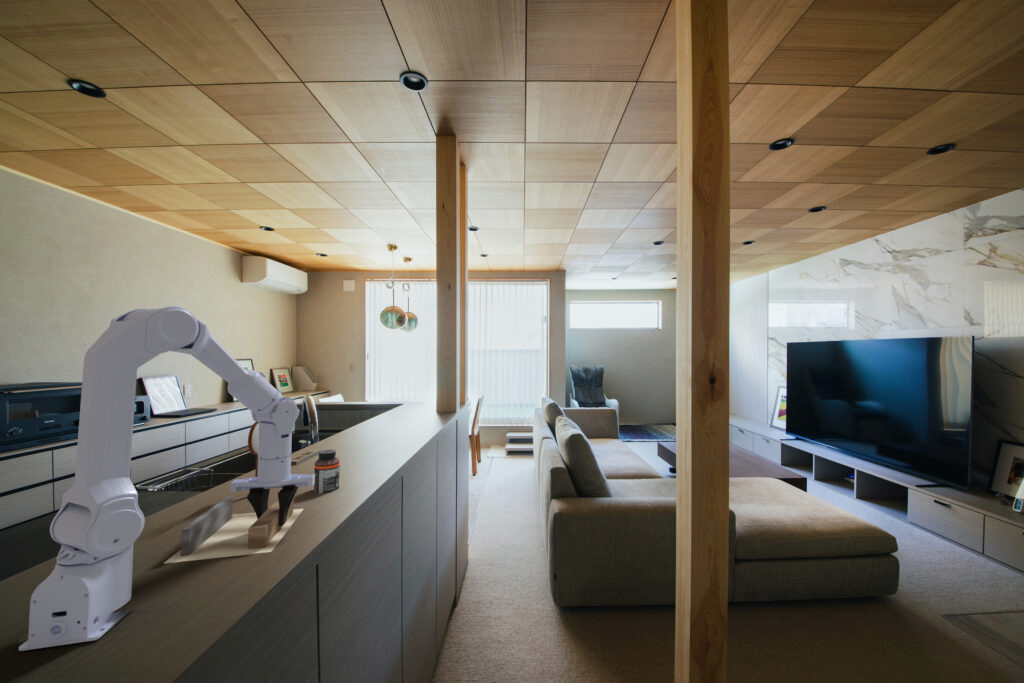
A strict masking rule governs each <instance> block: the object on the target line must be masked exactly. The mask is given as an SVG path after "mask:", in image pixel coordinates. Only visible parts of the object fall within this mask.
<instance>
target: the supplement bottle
mask: <svg viewBox="0 0 1024 683" xmlns="http://www.w3.org/2000/svg"><path fill="white" fill-rule="evenodd" d="M336 456H337V452H336V450H335V449H323V450H320V451H318V459H317V460H316V461H315V462H314V470H313V472H314V473H313V474H315V484H314V485H313V491H314V493H318V494H325V493H332V492H334V491H337V490H339V489H340V459H339V458H338V457H336Z"/></svg>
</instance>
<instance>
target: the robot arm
mask: <svg viewBox="0 0 1024 683" xmlns="http://www.w3.org/2000/svg"><path fill="white" fill-rule="evenodd" d="M168 352H173V353H178V354H179V353H180V354H185V355H190V356H192V357H193V358H195V360H198V361H199V362H200V363H201V364H202V365H204V366H205V367H206V368H208V369H209V370H211V371H212V372H213V373H215V374H216V375H217V376H218V377H220V378H221V379H222V380H224V381H225V382H226V383H227V392H228V393H229V395H231V396H232V397H233V398H235V400H237V401H238V402H240V403H241V404H242V405H243V406H244V407H245V408H247V409H248V410H249V411H250V413H251V417H252V420H253V421H254V422H256V421H257V422H258V423H259V443H258V477H255V476H253V477H248V478H240V479H234V480H232V481H231V482H230V493H238V492H241V491H242V492H243V491H249V492H248V494H246V499H247V501H248V503H250V505H251V507H252V508H253V510H254V513H256V515H257V518H258V519H259V518H260V517H261V516H262V514H263V513H264V512H265V511H266V510H267V509H268V508H269V498H270V491H271V489H280V490H279V491H278V493H277V499H279V526H283V525H284V524H285V523H286V519H287V514H288V511H289V508H290V505H291V502H292V500H293V498H294V497H295V495H296V494H297V491H298V489H299V488H300V487H306V488H311V487H314V484H315V474H314V473H313V474H312V473H311V474H300V473H297V474H295V473H291V472H292V442H293V441H292V439H293V438H292V437H293V436H292V435H293V431H294V429H295V422H296V421H297V419H298V418H299V415H300V411H301V409H299V408H298V406H297V403H296V401H295V400H294V399H292V398H291V397H289V396H283V394H282V391H281V389H279V388H275V387H274V386H273V385H272V384H271V383H270V382H269V381H268V380H267V379H266V377H267V376H266V374H265V373H264V372H263V371H257V370H255V369H248V370H246V369H245V368H244V367H243V366H242V365H241V364H240V363H239V362H238V361H237V360H236V359H235V358H234V357H233V356H232V355H231V354H230V352H229V351H228V350H226V349H225V347H223V345H222V344H220V342H219V341H218V340H217V339H216V338H214V336H213V335H212V334H211V333H210V330H209V328H208V326H207V325H206V324H205V323H204V322H203V321H201V320H198V319H197V317H196V316H195V315H194V314H193V313H192V312H191V311H189V310H188V309H186V308H183V307H181V306H165V307H161V308H149V309H148V308H147V309H146V308H138V309H137V308H136V309H132V310H130V311H128V312H125V313H122V314H120V315H119V316H116V317H114V318H112V319H111V320H110V322H109V326H108V328H106V330H105V331H104V332H103V333H102V334H101V335H100V336H99V337H98V338H97V339H96V341H94V343H93V344H92V345H91V346H90V347H89V348H88V349H87V351H86V352H85V354H84V358H83V368H82V382H81V393H80V394H81V395H80V410H79V421H78V433H77V446H76V447H77V448H76V459H75V471H74V472H75V474H74V483H73V484H72V486H70V488H68V490H66V491H65V492H64V493H63V495H62V500H61V505H60V509H59V510H58V512H57V513H56V515H55V516H54V517H53V519H52V521H51V522H50V526H49V534H50V536H51V539H52V540H53V541H55V542H56V543H58V544H60V546H61V547H60V549H59V551H58V553H57V556H56V563H55V566H54V568H53V570H52V572H51V573H50V574H49V576H47V577H46V578H45V579H44V580H43V581H42V582H41V583H40V584H38V586H37V587H36V588H35V590H33V592H32V594H31V597H30V601H29V616H28V618H29V619H28V620H29V621H28V636H27V637H28V638H27V640H26V641H25V642H23V643H22V644H20V645H19V646H18V651H19V652H24V651H30V650H38V649H43V648H50V647H52V648H53V647H57V646H65V645H72V644H80V643H85V642H92V641H96V640H99V639H100V638H101V637H102V636H103V635H104V634H106V632H108V631H109V630H110V629H112V628H113V627H114V626H115V625H116V624H117V623H119V622H120V620H122V619H123V618H124V617H125V616H127V614H128V613H130V612H131V610H125V611H117V610H119V609H120V608H122V607H123V606H124V605H126V604H127V603H128V602H129V601H130V600H131V599H132V593H133V592H132V589H133V588H132V587H133V566H134V565H133V564H134V562H133V561H134V545H135V544H134V543H135V542H136V541H137V539H139V537H140V536H141V534H142V532H143V530H144V527H145V523H146V519H145V515H144V512H143V511H142V510H141V508H140V506H139V494H138V490H136V488H135V486H134V484H133V482H132V480H131V476H130V475H131V464H132V448H133V446H132V445H133V435H134V434H133V433H134V417H135V406H136V405H135V404H136V402H135V401H136V392H137V391H136V389H137V376H138V369H139V368H140V367H141V366H143V365H145V364H146V363H148V362H150V361H151V360H153V359H154V358H156V357H157V356H160V355H161V354H164V353H168ZM281 488H282V489H281ZM115 611H117V612H115Z"/></svg>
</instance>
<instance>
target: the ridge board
mask: <svg viewBox="0 0 1024 683" xmlns="http://www.w3.org/2000/svg"><path fill="white" fill-rule="evenodd" d="M233 503H234V496H225V497H224V498H223V499H221V500H220V501H219V502H218V503H216V504H214V506H212V507H211V508H209V509H208V510H207V511H204V513H202V514H201V515H199V516H198V517H197V518H195V519H194V520H193V521H191V522H190V523H189V524H188V525H186V526H185V527H183V528H182V529H181V533H180V534H181V536H180V537H181V538H180V540H181V541H180V549H179V550H178V551H177V552H175V554H173V555H172V556H171V557H169V558H168V559H167V560H166V561H165V562H163V564H164V565H165V564H171V563H172V564H173V563H180V562H181V563H182V562H191V561H201V560H210V559H219V558H227V557H228V558H229V557H236V556H237V557H238V556H246V555H256V554H265V553H272V551H274V549H275V548H276V547H277V545H278V544H279V543H280V541H281V539H282V538H283V537H284V536H285V534H286V533H287V532H288V530H289V529H290V528H291V526H292V525H293V524H294V522H296V520H297V518H298V517H299V516H300V515H301V514H302V512H303V511H304V508H296V509H295V508H293V514H292V515H291V516H290V517H289V519H288V520H287V521H286V523H285V524H284V525H283V526H282V527H281V529H280V530H279V531H278V532H277V534H276V535H275V536H274V537H273V539H272V540H271V541H270V542H269V543H268V545H267V546H266V547H264V548H255V549H248V529H249V528H250V527H251V526H252V525H253V524H254V523H255V522H256V521H257V520H258V518H257V515H256V513H255V512H247V513H246V512H245V513H235V514H234V513H233V511H234V508H233V506H234V504H233Z"/></svg>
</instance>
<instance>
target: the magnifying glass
mask: <svg viewBox="0 0 1024 683" xmlns="http://www.w3.org/2000/svg"><path fill="white" fill-rule="evenodd" d="M247 437H248V438H247V446H248V449H249V452H250V454H252V455H255V473H254V477H258V443H259V423H258V422H257V421H254V422H253V424H252V425H251V427H250V429H249V432H248V436H247Z"/></svg>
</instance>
